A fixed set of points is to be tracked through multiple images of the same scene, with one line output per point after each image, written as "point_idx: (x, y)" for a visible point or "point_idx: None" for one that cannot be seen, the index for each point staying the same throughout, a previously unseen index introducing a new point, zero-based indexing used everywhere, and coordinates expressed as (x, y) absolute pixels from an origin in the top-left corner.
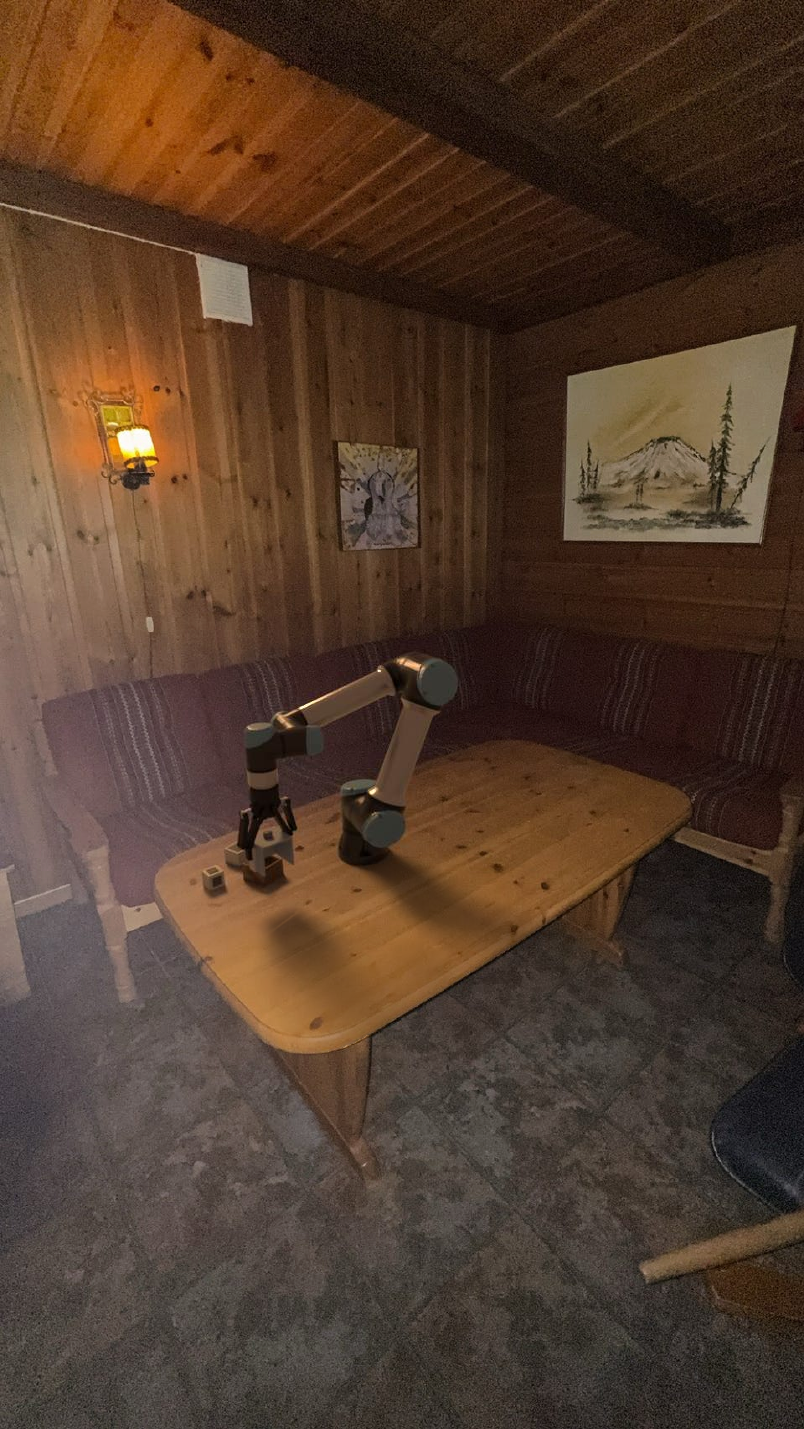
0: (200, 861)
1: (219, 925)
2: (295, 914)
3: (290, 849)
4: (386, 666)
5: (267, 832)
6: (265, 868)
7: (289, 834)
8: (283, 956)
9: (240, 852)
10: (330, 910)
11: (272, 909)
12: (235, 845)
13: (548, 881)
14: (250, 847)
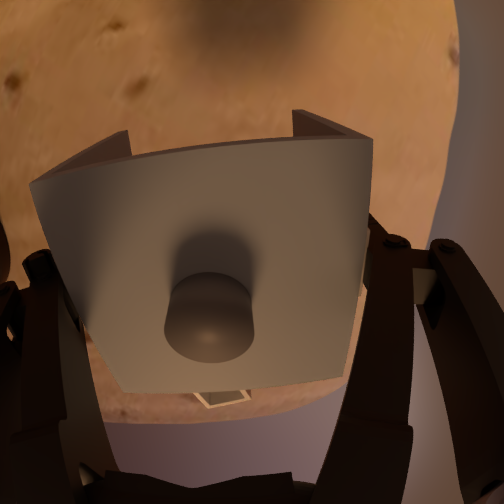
0: (287, 390)
1: (392, 147)
2: (200, 49)
3: (95, 162)
4: None
5: (210, 336)
6: None
7: (48, 265)
8: None
9: None
10: (107, 18)
11: (246, 115)
12: (220, 399)
13: None
14: (396, 241)
